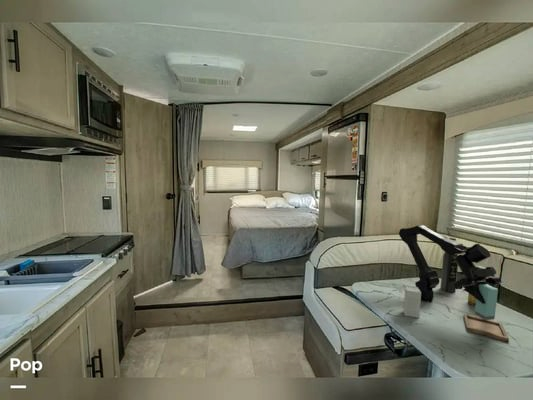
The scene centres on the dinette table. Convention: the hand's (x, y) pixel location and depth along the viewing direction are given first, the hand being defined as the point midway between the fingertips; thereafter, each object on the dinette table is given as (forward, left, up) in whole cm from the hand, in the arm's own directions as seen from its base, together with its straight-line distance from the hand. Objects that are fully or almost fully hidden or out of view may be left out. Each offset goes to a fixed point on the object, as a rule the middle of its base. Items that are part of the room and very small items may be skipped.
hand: (489, 303), depth 106 cm
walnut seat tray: (0, +2, -12) cm, 13 cm away
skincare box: (-27, -3, -13) cm, 30 cm away
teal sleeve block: (-1, +1, -7) cm, 7 cm away
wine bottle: (-11, +39, -13) cm, 43 cm away
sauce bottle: (0, +27, -13) cm, 30 cm away
